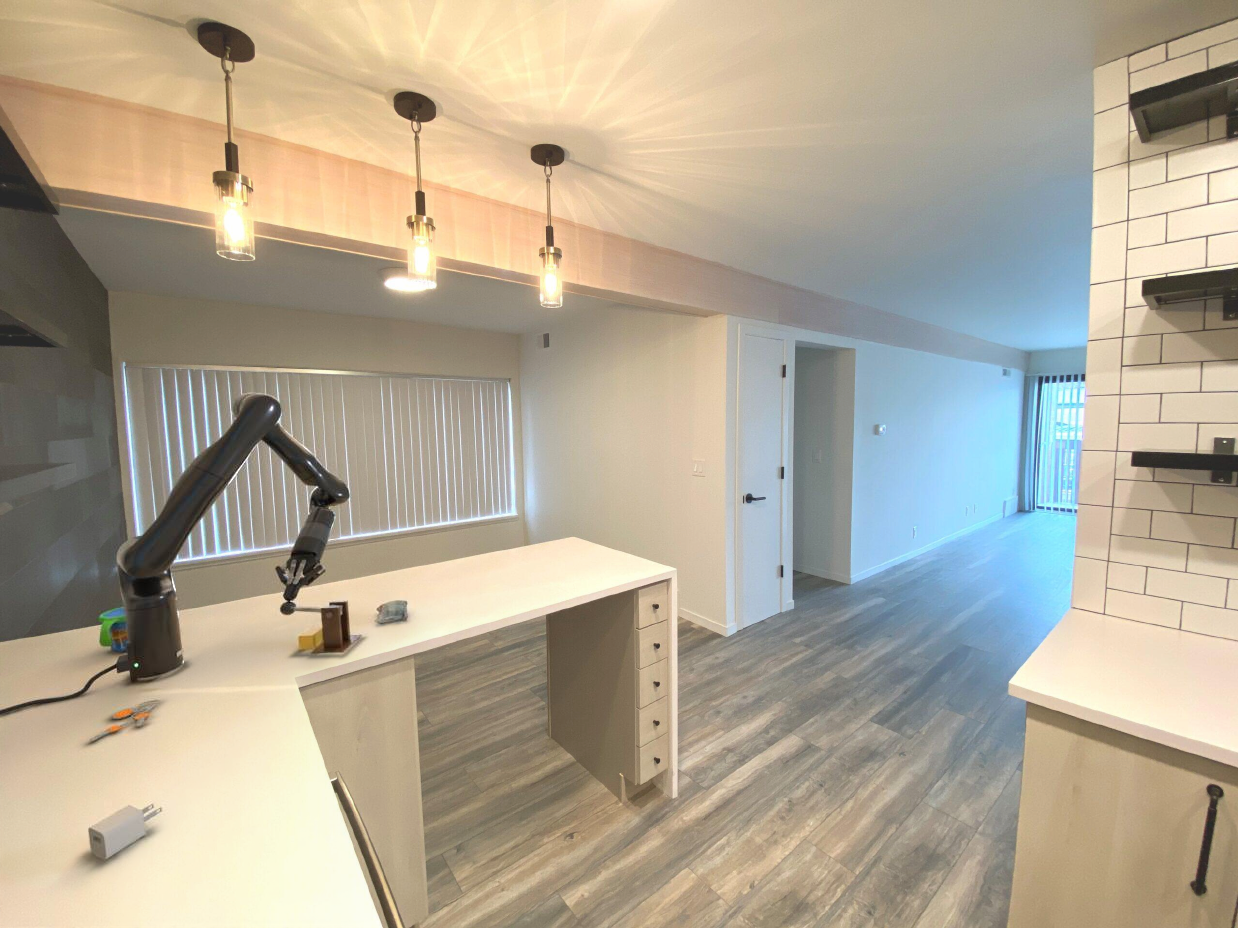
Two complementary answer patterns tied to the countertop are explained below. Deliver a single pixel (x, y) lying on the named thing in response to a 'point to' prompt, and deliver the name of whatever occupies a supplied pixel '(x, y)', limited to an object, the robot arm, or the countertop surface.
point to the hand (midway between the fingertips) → (288, 599)
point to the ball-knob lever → (300, 608)
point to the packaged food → (392, 611)
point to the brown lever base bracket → (335, 629)
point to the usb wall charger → (119, 830)
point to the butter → (310, 638)
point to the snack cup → (113, 630)
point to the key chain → (139, 716)
